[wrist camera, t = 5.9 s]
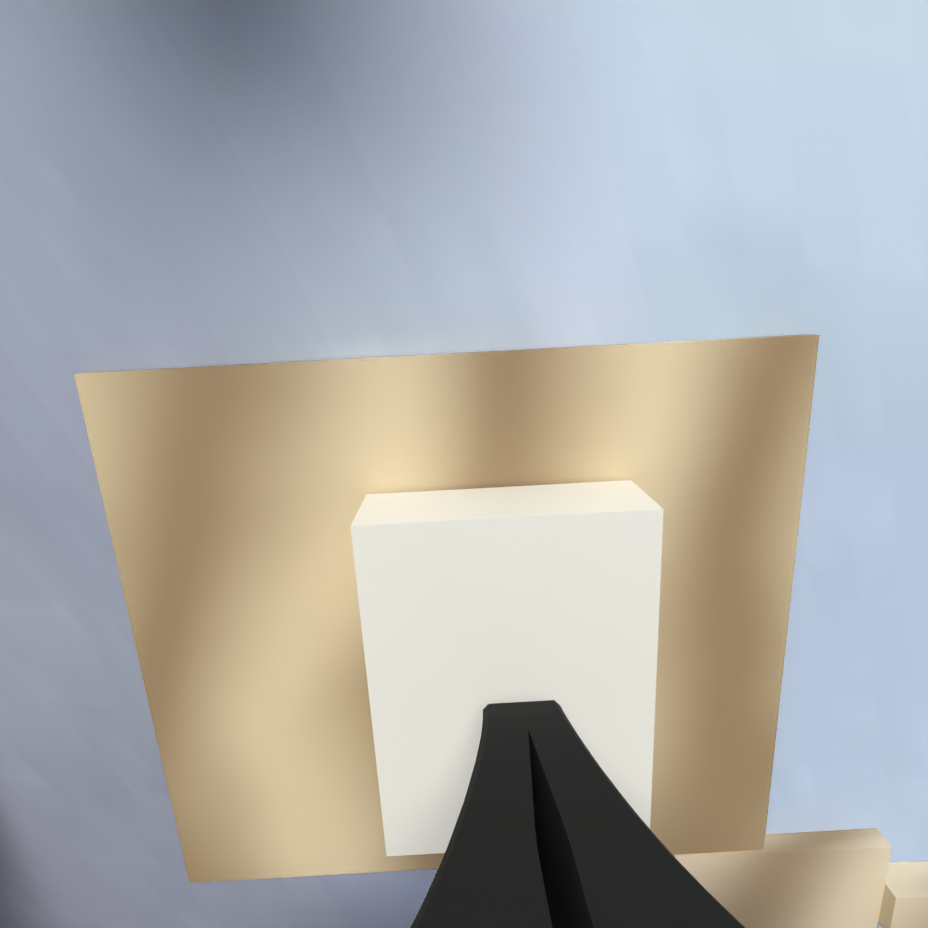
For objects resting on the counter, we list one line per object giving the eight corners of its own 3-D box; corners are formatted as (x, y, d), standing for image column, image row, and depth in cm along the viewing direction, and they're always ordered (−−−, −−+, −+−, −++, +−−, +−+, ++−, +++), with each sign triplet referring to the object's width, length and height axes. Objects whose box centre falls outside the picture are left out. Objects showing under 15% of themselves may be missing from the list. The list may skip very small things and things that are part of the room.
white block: (663, 508, 11) (350, 525, 10) (649, 841, 13) (386, 856, 12) (629, 478, 13) (367, 493, 13) (622, 768, 15) (395, 781, 15)
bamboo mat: (807, 334, 12) (819, 334, 12) (755, 836, 16) (763, 849, 15) (86, 372, 12) (74, 374, 12) (196, 868, 16) (189, 882, 15)
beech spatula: (1122, 817, 16) (1165, 849, 15) (1089, 922, 17) (1127, 959, 16) (666, 837, 16) (680, 871, 15) (661, 940, 17) (673, 978, 16)
